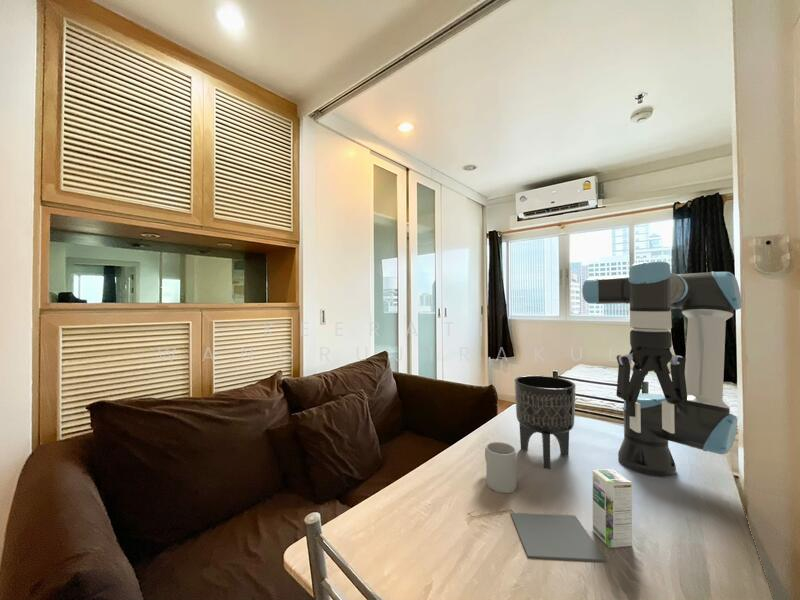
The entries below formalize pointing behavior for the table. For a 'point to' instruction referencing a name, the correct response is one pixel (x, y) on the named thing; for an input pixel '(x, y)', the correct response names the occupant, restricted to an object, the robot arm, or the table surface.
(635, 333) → the robot arm
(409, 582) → the table surface
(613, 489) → the syrup box
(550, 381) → the planter
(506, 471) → the mug
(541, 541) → the mat
